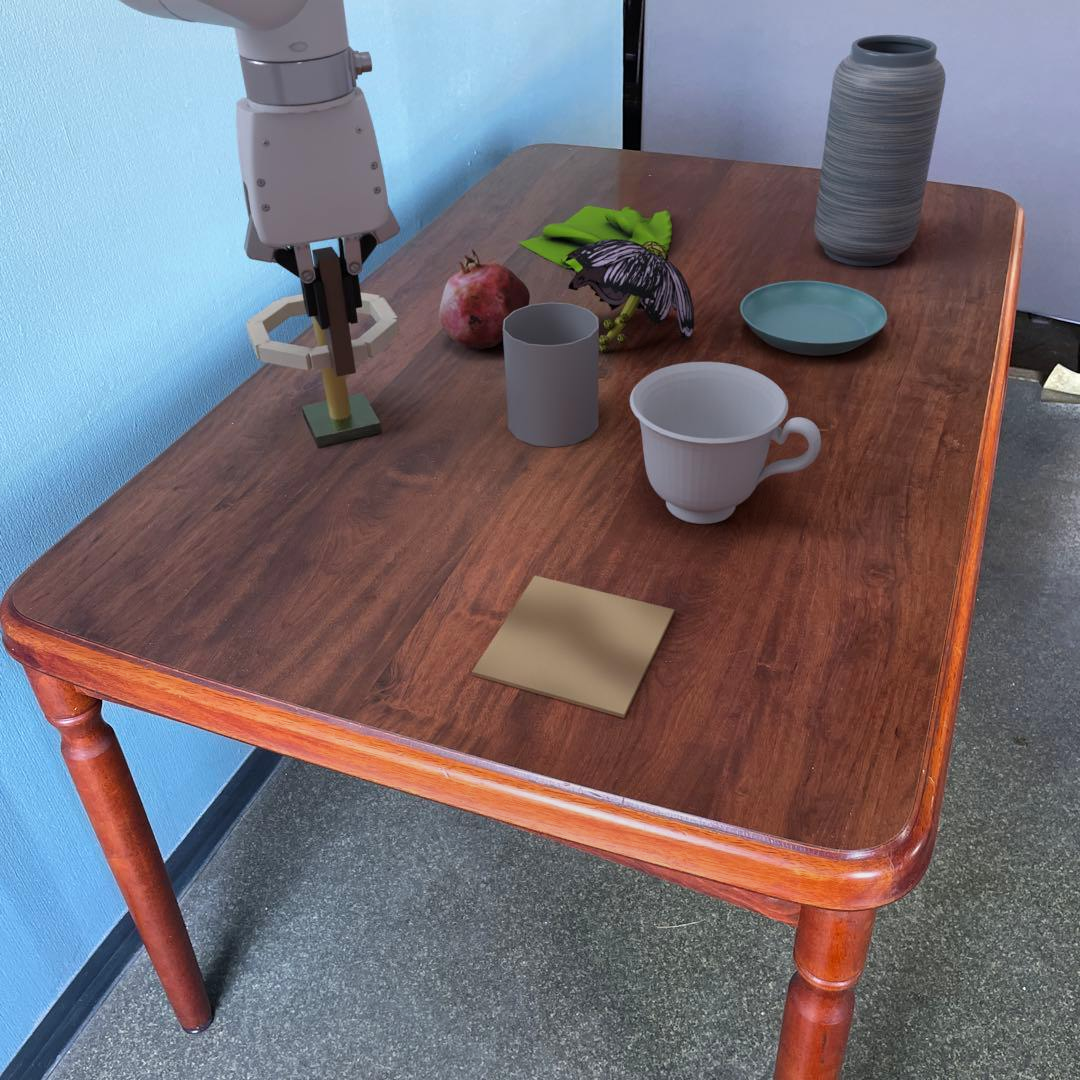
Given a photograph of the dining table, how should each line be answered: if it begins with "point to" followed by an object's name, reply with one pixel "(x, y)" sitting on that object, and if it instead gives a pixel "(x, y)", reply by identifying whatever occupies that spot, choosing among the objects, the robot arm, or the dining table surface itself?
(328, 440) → the stand
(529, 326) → the cup
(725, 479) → the teacup
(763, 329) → the saucer
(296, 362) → the ring
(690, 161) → the dining table surface
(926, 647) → the dining table surface
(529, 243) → the cloth
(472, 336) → the fruit
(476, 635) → the dining table surface
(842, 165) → the vase
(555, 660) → the cork pad
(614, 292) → the decorative flower
